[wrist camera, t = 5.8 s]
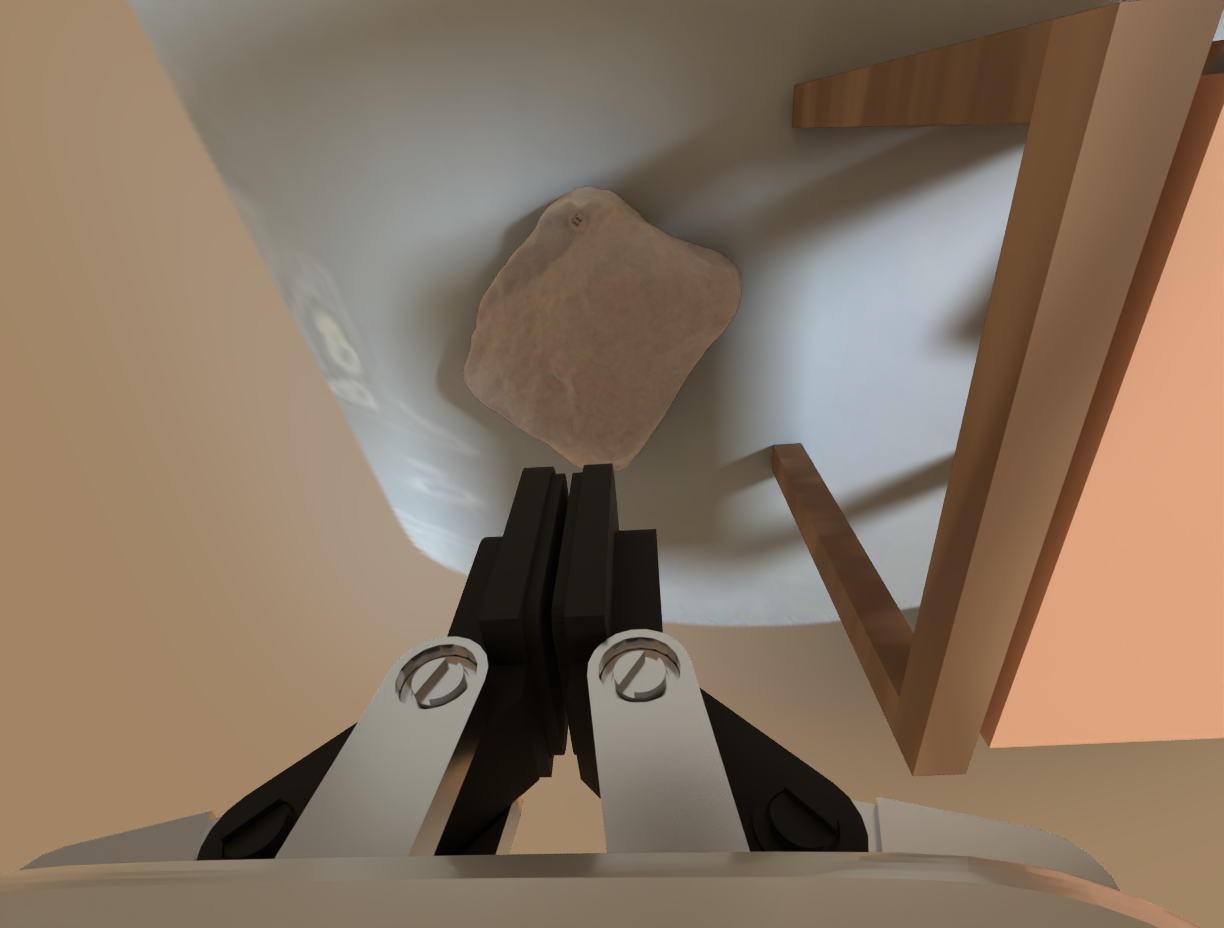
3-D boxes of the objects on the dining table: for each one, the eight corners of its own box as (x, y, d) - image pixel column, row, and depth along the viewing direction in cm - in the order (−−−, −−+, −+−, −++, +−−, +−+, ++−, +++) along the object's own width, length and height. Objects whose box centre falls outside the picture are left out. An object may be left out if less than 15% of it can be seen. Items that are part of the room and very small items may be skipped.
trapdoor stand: (1151, 52, 24) (2202, -101, 8) (1032, 452, 32) (1422, 754, 17) (794, 85, 24) (1120, 2, 9) (771, 469, 33) (912, 776, 17)
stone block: (469, 368, 32) (625, 466, 33) (430, 390, 28) (610, 502, 29) (575, 156, 28) (754, 274, 28) (547, 142, 23) (760, 281, 24)
